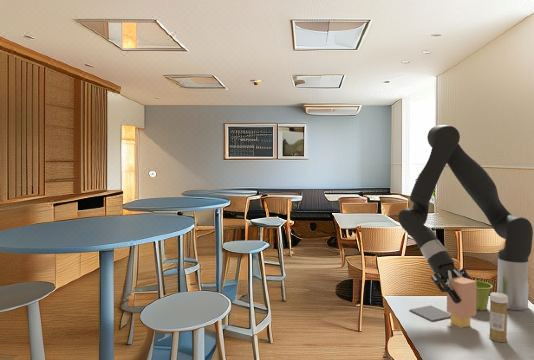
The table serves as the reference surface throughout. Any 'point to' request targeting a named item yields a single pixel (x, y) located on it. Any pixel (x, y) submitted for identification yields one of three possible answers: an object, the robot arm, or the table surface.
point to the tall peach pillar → (463, 298)
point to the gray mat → (431, 313)
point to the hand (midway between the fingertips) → (466, 300)
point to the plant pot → (482, 294)
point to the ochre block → (460, 321)
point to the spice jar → (498, 316)
